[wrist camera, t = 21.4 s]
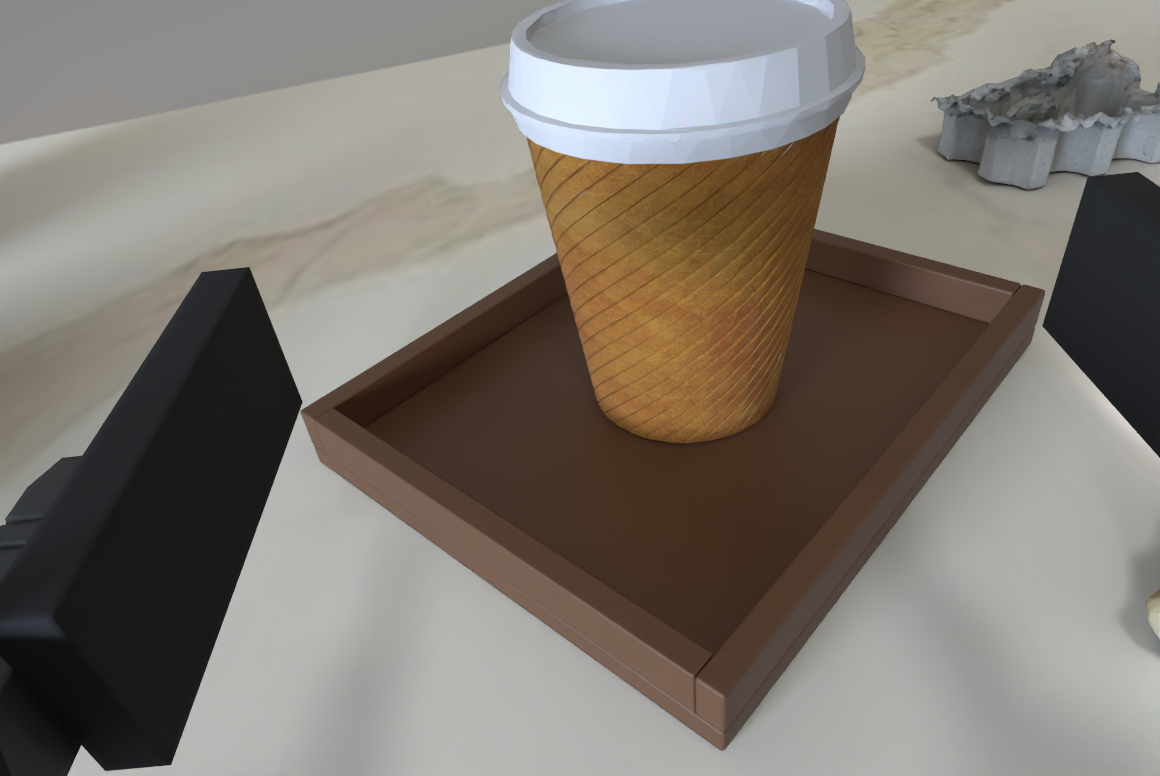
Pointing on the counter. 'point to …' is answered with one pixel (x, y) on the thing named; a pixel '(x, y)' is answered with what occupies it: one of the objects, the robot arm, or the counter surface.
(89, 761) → the counter surface
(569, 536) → the serving tray
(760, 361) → the disposable coffee cup
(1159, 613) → the pastry
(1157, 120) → the egg carton
